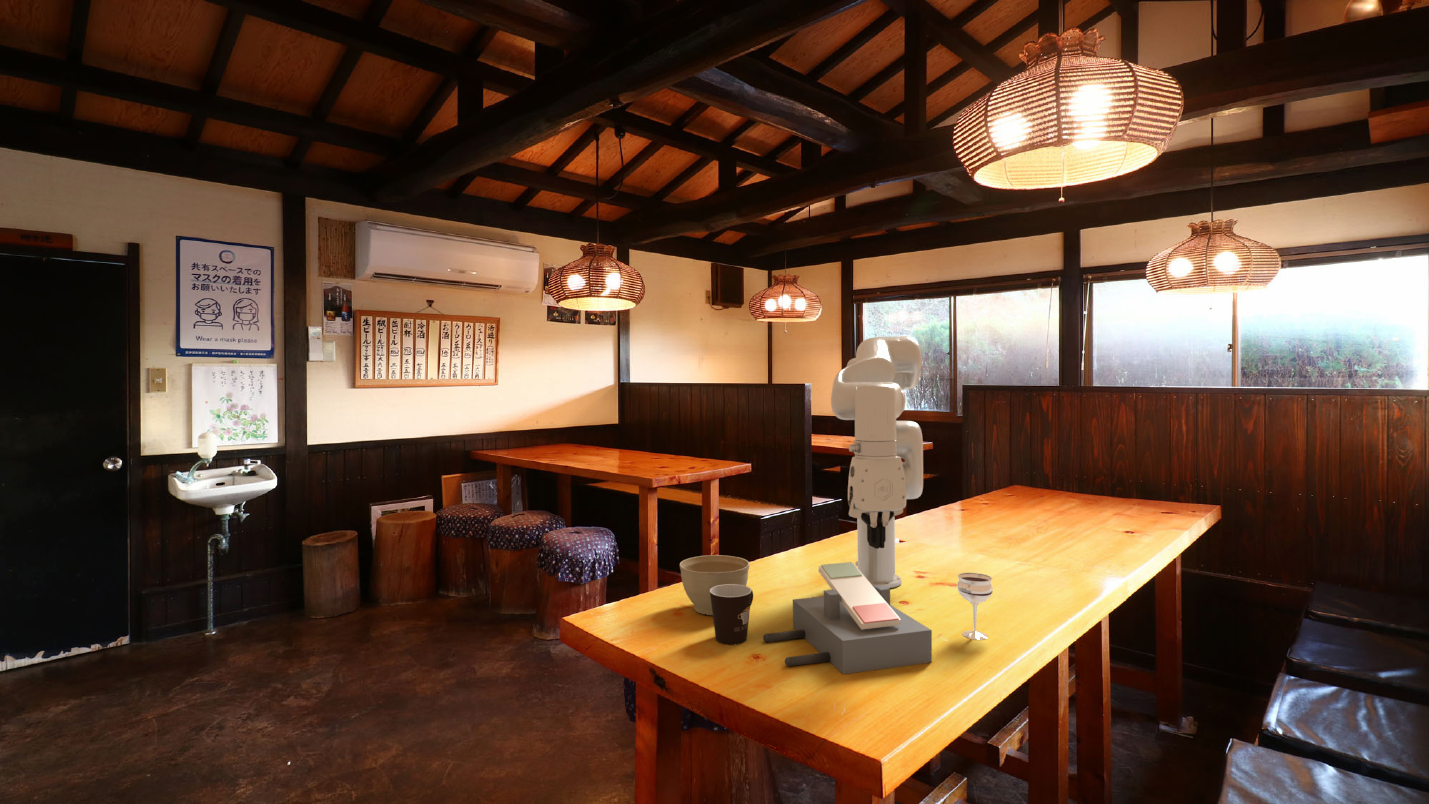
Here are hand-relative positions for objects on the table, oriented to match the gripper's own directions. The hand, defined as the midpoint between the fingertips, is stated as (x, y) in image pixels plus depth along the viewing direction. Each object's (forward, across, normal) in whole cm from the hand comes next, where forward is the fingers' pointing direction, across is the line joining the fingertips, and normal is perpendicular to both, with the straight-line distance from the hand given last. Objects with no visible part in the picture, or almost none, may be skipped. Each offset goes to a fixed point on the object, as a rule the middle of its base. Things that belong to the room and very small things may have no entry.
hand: (876, 546), depth 123 cm
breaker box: (+21, -5, +7) cm, 23 cm away
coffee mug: (+22, -22, +17) cm, 36 cm away
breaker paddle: (+11, 0, +8) cm, 14 cm away
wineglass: (+22, +25, +4) cm, 33 cm away
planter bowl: (+22, -22, +35) cm, 47 cm away
